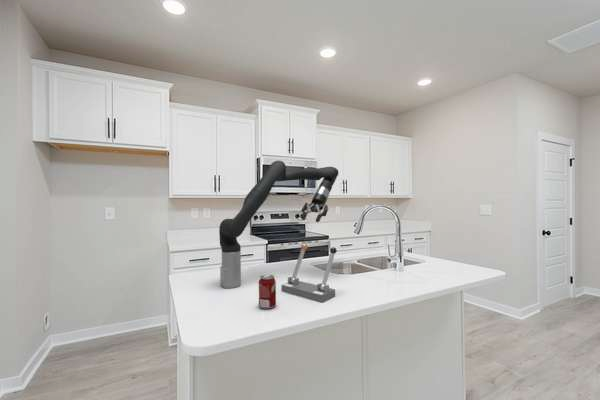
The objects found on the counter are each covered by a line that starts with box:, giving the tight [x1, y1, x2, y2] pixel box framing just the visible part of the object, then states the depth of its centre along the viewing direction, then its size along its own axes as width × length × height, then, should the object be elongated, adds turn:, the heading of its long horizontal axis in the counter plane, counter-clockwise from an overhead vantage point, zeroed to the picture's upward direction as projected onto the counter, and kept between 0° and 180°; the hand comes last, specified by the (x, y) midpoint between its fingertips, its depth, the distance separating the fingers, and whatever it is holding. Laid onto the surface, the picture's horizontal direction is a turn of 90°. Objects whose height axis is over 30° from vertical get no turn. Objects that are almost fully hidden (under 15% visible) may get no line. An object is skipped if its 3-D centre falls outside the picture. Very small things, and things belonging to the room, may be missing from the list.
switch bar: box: [281, 276, 336, 304], centre depth 127 cm, size 10×23×6 cm, turn 51°
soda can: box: [258, 274, 277, 310], centre depth 112 cm, size 7×7×12 cm
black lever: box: [319, 246, 338, 291], centre depth 125 cm, size 3×3×20 cm
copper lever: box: [290, 243, 308, 283], centre depth 136 cm, size 3×3×20 cm
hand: (309, 220), depth 149 cm, fingers open, 8 cm apart
